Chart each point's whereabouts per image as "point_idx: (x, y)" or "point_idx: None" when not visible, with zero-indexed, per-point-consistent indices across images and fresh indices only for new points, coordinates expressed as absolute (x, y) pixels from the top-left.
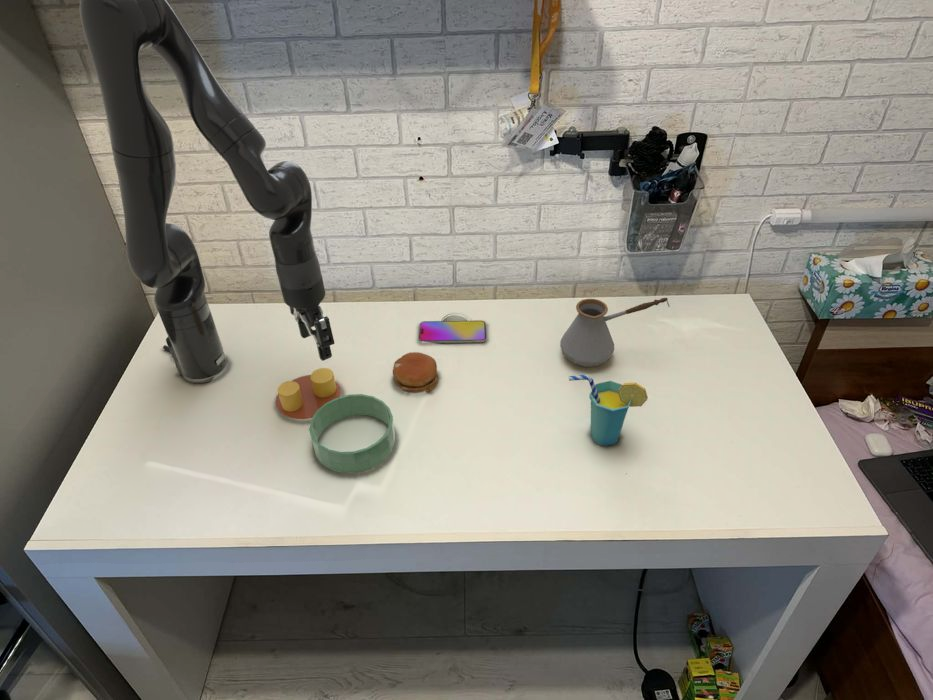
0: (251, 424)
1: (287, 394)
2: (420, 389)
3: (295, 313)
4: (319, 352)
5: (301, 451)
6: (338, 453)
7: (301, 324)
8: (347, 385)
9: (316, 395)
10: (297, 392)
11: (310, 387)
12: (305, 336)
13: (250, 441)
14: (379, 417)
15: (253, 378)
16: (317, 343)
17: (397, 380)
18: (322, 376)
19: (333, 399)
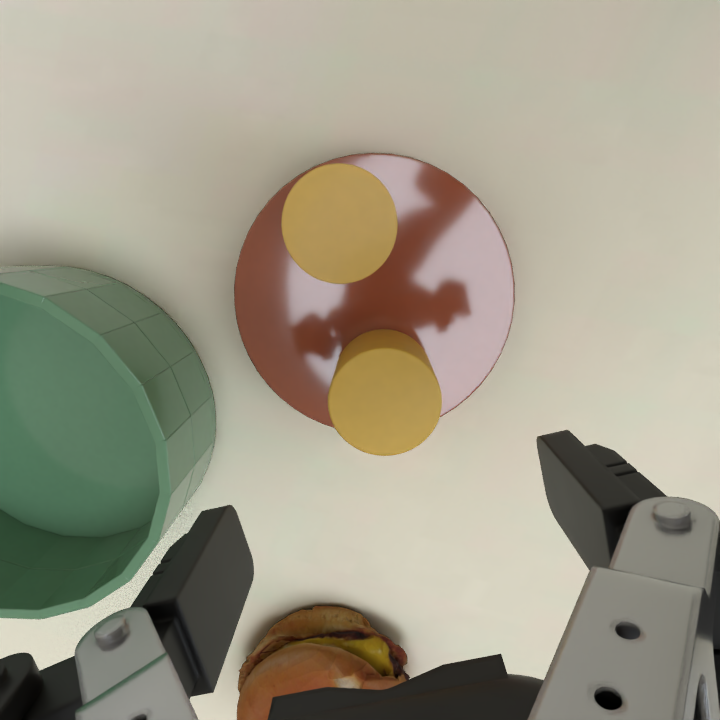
0: (312, 21)
1: (290, 212)
2: (239, 684)
3: (608, 682)
4: (176, 553)
5: (90, 215)
6: None
7: (596, 522)
8: (396, 456)
9: (359, 336)
10: (299, 265)
11: (424, 321)
12: (543, 459)
13: (205, 4)
14: (146, 527)
15: (631, 70)
16: (100, 641)
17: (322, 630)
18: (374, 404)
19: (157, 424)
